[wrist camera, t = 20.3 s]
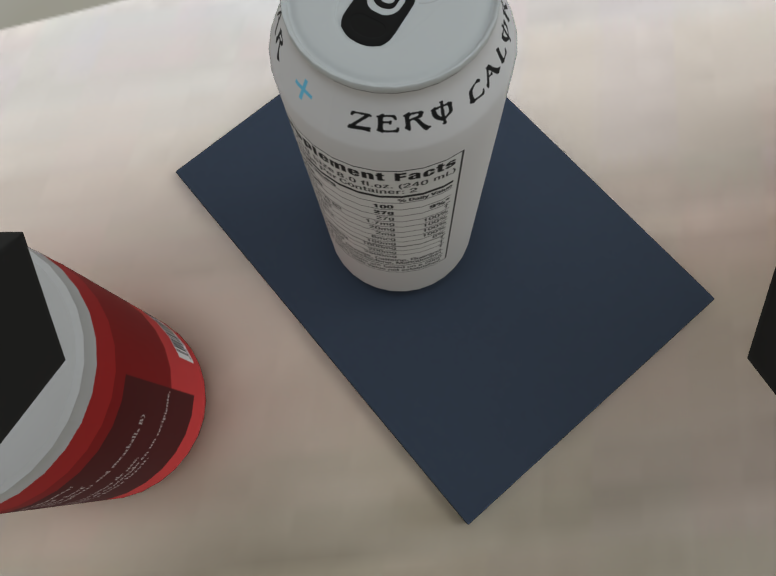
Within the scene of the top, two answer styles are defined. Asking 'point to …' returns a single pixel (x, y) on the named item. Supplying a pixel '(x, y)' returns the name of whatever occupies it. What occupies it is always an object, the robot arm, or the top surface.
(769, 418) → the top surface
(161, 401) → the canned food
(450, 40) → the energy drink can
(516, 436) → the felt mat
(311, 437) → the top surface
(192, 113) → the top surface
